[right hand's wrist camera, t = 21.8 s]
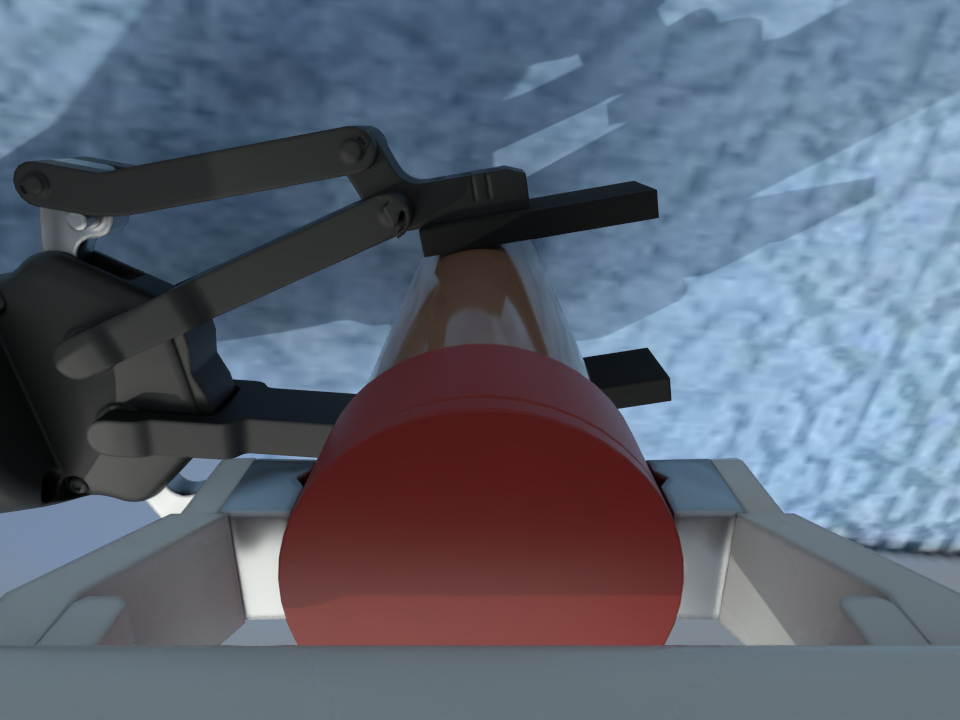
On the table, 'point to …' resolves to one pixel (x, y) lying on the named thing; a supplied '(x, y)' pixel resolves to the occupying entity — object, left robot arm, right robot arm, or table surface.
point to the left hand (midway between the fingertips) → (650, 289)
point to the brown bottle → (481, 307)
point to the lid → (481, 514)
